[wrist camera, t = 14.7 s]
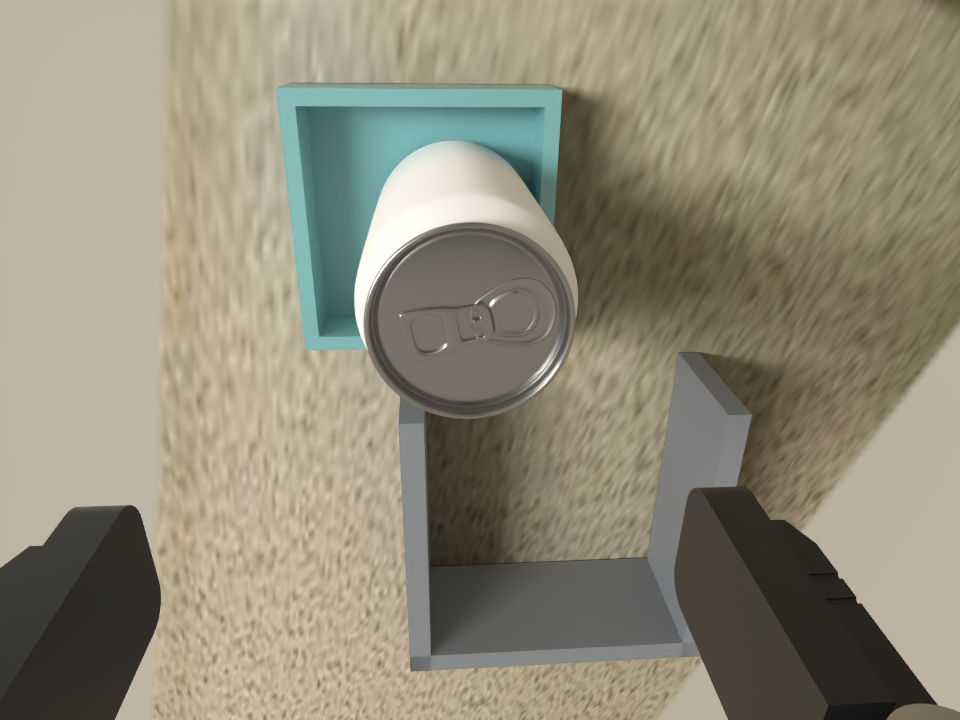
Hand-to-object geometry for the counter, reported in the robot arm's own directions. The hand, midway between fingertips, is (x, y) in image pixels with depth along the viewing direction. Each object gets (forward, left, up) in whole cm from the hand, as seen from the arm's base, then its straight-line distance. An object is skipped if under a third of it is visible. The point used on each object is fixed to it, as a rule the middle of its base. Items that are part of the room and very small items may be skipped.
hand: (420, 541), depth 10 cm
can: (0, +1, -21) cm, 21 cm away
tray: (0, 0, -21) cm, 21 cm away
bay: (+14, +6, -21) cm, 26 cm away
